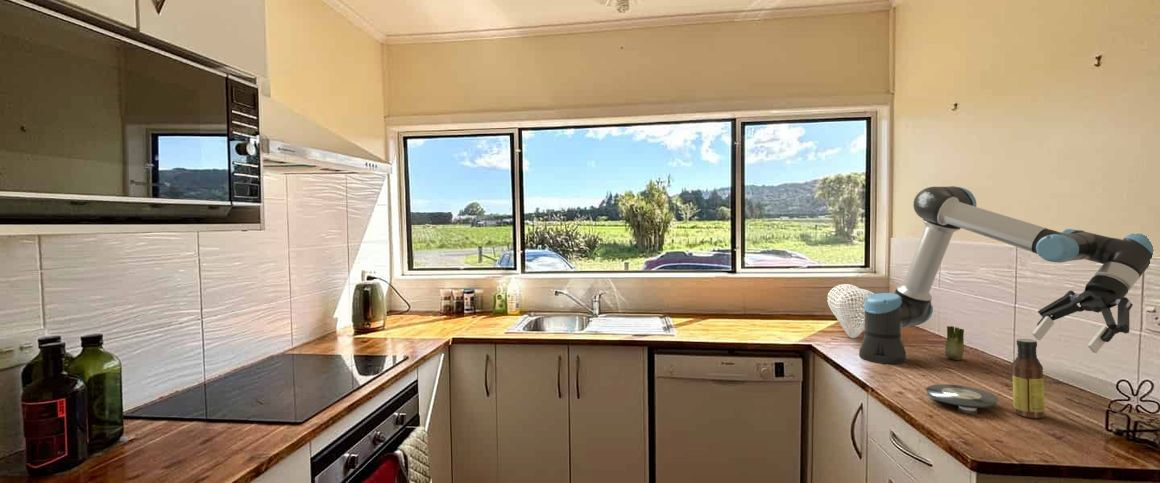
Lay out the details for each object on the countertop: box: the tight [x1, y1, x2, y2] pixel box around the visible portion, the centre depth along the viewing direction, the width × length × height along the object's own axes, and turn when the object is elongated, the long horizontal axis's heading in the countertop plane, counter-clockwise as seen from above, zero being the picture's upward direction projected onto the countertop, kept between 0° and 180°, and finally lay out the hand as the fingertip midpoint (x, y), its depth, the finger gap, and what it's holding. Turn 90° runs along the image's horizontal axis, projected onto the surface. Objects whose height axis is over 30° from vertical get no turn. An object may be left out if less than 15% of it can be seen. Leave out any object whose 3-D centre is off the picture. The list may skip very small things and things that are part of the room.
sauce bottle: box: [1012, 338, 1046, 419], centre depth 135 cm, size 6×6×20 cm
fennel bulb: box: [944, 325, 965, 361], centre depth 187 cm, size 6×5×12 cm
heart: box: [826, 283, 875, 339], centre depth 221 cm, size 28×16×22 cm, turn 172°
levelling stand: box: [926, 383, 999, 415], centre depth 144 cm, size 16×16×3 cm
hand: (1062, 342), depth 136 cm, fingers open, 13 cm apart
